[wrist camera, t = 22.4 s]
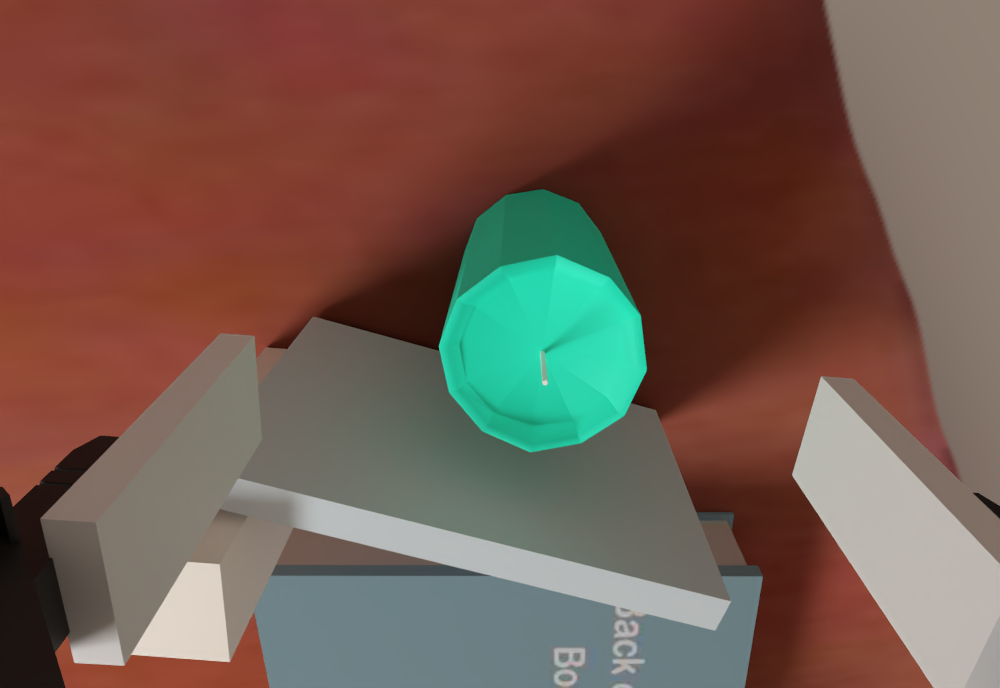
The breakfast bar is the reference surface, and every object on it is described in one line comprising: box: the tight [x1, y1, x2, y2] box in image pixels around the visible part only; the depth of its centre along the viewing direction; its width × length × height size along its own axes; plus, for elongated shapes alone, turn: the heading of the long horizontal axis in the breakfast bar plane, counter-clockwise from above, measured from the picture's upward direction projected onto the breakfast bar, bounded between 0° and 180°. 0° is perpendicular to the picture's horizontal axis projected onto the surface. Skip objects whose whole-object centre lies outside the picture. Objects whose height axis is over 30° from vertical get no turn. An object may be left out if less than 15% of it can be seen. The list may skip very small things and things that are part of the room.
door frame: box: [131, 347, 294, 662], centre depth 21 cm, size 25×4×14 cm, turn 176°
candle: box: [439, 189, 647, 452], centre depth 24 cm, size 6×6×12 cm
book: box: [254, 512, 763, 688], centre depth 35 cm, size 23×16×5 cm
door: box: [220, 317, 731, 631], centre depth 26 cm, size 16×3×12 cm, turn 74°
